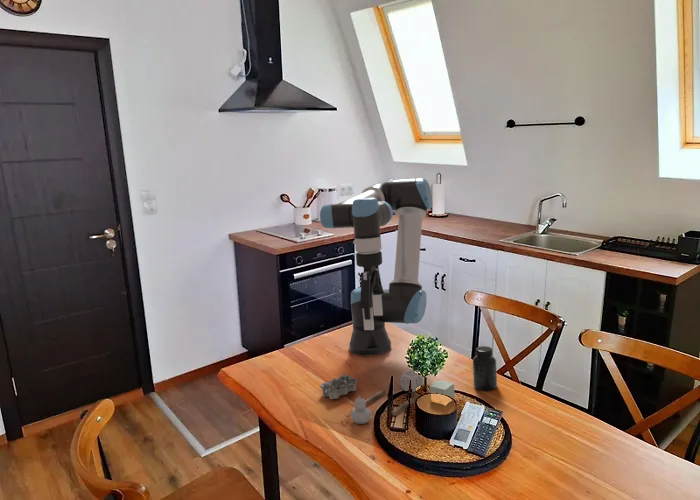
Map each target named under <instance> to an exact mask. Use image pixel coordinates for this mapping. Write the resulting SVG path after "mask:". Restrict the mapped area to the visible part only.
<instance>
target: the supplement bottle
mask: <svg viewBox="0 0 700 500" xmlns="http://www.w3.org/2000/svg"><path fill="white" fill-rule="evenodd" d="M493 354H494V353H493V348H492V347H490V346H484V345H482V346H480V345H479V346H477V347H476V348H475V356H474V357H473V358H472V376H473V386H474V388H475V389H477V390H479V391H483V392H491V391H494V390H495V389H496V388H497V387H498V379H497V378H498V376H497V374H498V373H497V359H496V357H495V356H494V355H493Z"/></svg>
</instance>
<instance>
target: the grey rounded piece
mask: <svg viewBox="0 0 700 500" xmlns="http://www.w3.org/2000/svg"><path fill="white" fill-rule="evenodd" d="M358 395H359V394H358ZM365 400H366V399H364V397H361V396H360V395H359V396H358V397H356V398H355V400H354V403H353V404H354V408H353V409H352V410H351V411H350V416H351V417H350V418H351V420H352V421H353V422H354V423H356V424H358V425H363V424H366V423H368V422H369V421H370V420H371V418H372V411H371V409H370V408H368V407H367V406H366V402H365Z"/></svg>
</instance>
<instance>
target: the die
mask: <svg viewBox="0 0 700 500" xmlns="http://www.w3.org/2000/svg"><path fill="white" fill-rule="evenodd" d="M414 371H415V370H407V371H404V372H403V373H402V374H401V376H400V379H399V381H400V382H399V383H400V387H401V388H402V390H403V391H405V392H406V391H408V388H409V383H410V380H411V389H412V392H411V393H416V392H415V390H416V388H417V387H419V386H421V385H422V386H423V383H424V382H423V376H422V375H421V376H419V375H418V374H417V373H415V372H414Z"/></svg>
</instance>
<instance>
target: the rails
mask: <svg viewBox="0 0 700 500" xmlns="http://www.w3.org/2000/svg"><path fill="white" fill-rule="evenodd" d="M384 395H386V389H382V390H380V391H377V392H376V393H375V394H373V395H371V396H370V397H368V398H367V399H364V400H365V402H366V407H367V406H369V405H371V404H372V403H374V402H375V401H377V400H378V399H379V398H381V397H383V396H384ZM409 399H410V406H412V405H413V404H414V403H416V398H415V397H411V398H409ZM409 399H408V400H409ZM408 400H406V401H404V402H403V403H402V404H400V405H399V406H397V407H396V408H393V409H392V410H391V416H393V417H394V416H395V417H396V416H397V415H398V414H401V412H403V411H405V410H406V409H407V408H408V407H407V406H408V404H409V402H408Z"/></svg>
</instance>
